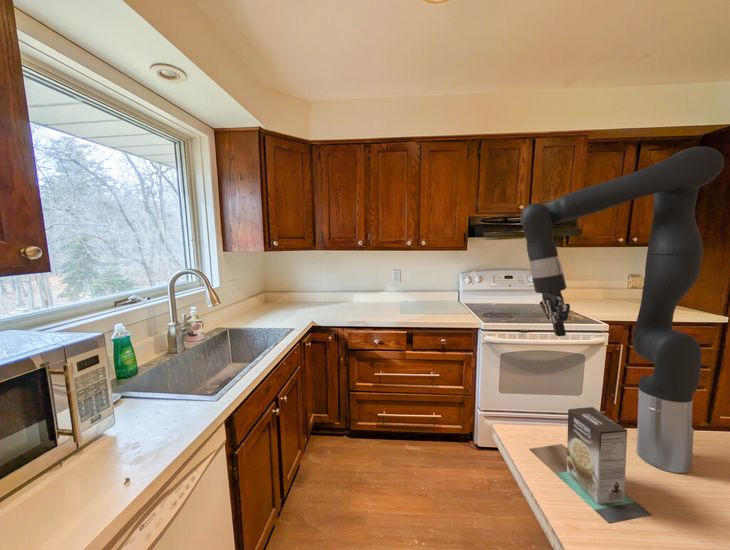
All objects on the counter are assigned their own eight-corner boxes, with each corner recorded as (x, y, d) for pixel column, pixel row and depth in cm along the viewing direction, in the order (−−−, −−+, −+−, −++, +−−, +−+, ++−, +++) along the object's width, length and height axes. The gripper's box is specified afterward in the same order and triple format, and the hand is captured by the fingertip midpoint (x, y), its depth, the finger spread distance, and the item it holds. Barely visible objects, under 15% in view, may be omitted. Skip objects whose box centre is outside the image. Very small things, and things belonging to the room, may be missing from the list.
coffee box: (564, 472, 69) (565, 407, 68) (590, 470, 70) (591, 406, 69) (597, 505, 60) (599, 431, 59) (626, 502, 61) (629, 429, 59)
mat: (561, 445, 79) (561, 444, 79) (652, 516, 58) (652, 514, 58) (528, 449, 78) (528, 448, 78) (608, 524, 56) (608, 523, 56)
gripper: (574, 271, 74) (589, 338, 73) (550, 272, 87) (563, 329, 86) (543, 277, 75) (557, 343, 74) (524, 277, 88) (536, 333, 87)
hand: (560, 335), depth 80 cm, fingers closed
